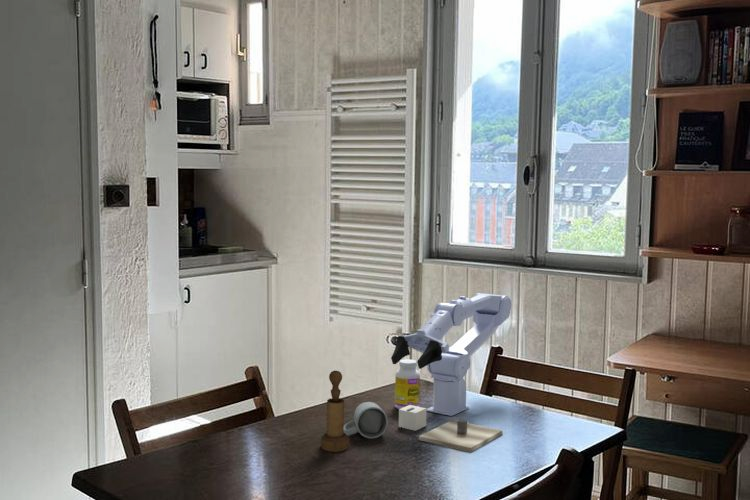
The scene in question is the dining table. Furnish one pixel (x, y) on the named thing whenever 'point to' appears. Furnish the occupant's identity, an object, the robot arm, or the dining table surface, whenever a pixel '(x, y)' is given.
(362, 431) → the ceramic mug
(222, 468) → the dining table surface
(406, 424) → the white cabinet with handle
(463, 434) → the board
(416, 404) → the supplement bottle
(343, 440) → the mortar and pestle
